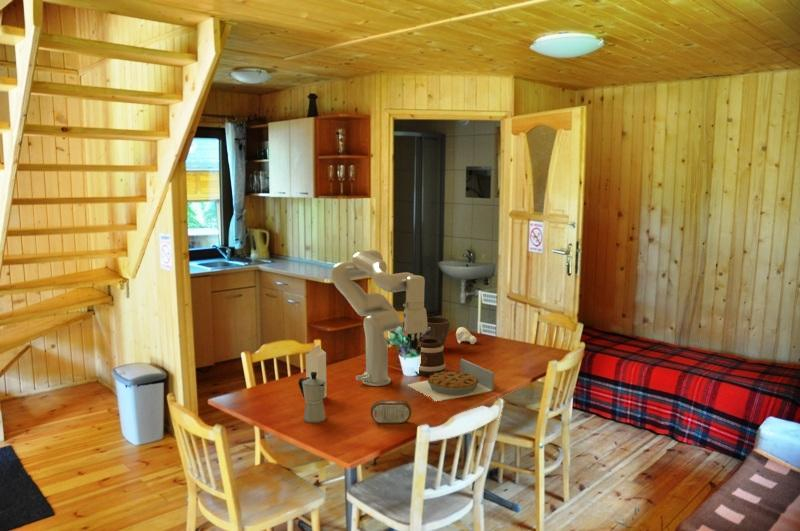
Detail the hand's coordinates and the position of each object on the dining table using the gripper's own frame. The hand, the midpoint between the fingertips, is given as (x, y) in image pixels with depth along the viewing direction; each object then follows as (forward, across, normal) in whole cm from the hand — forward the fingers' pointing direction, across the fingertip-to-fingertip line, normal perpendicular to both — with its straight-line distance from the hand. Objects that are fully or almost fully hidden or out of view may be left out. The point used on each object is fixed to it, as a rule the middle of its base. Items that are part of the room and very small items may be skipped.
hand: (413, 348), depth 256 cm
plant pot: (+21, +45, +56) cm, 75 cm away
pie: (+19, +18, -3) cm, 27 cm away
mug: (+20, +21, +25) cm, 39 cm away
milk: (+21, -38, +14) cm, 45 cm away
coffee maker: (+20, -47, -6) cm, 51 cm away
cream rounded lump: (+21, +67, +59) cm, 92 cm away
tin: (+20, -23, -24) cm, 38 cm away
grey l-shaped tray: (+20, +18, -1) cm, 27 cm away
